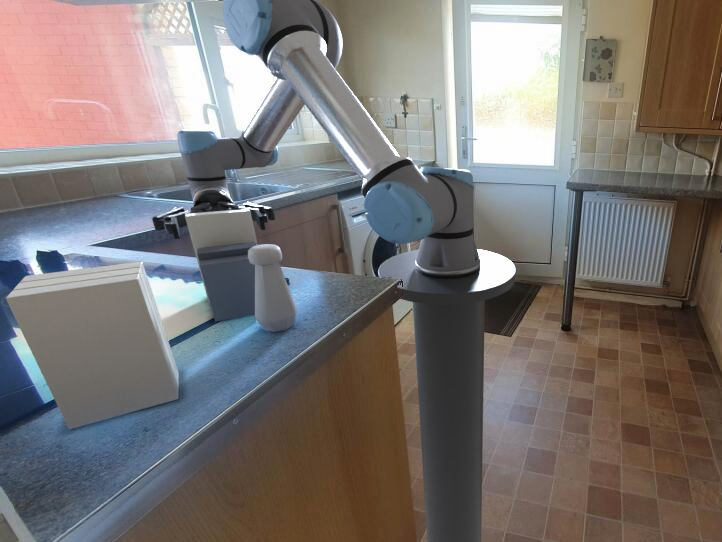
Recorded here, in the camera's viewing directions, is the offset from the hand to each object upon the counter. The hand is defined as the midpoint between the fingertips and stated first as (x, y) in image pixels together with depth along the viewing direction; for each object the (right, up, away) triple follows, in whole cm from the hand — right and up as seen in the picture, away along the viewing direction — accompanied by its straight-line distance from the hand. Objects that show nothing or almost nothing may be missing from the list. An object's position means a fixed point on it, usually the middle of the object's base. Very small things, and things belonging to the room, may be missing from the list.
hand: (220, 227), depth 77 cm
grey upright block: (+9, -15, -7) cm, 19 cm away
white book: (+5, -13, -3) cm, 14 cm away
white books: (+11, -24, -30) cm, 40 cm away
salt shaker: (+18, -18, -13) cm, 29 cm away
